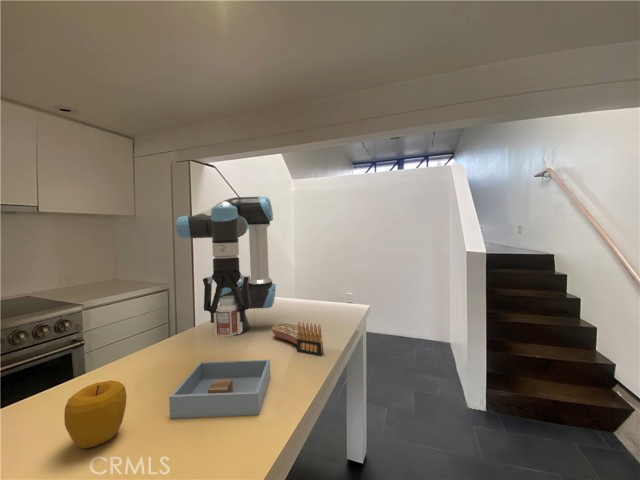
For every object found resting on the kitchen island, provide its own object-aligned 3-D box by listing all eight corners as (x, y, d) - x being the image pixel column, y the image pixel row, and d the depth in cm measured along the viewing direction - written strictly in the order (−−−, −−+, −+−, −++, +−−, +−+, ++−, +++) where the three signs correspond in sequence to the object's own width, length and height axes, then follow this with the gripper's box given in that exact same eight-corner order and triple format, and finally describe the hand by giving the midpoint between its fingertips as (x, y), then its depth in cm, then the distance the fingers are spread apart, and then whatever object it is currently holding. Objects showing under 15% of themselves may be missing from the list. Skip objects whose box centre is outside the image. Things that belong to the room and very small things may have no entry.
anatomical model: (268, 338, 121) (268, 327, 121) (285, 332, 128) (285, 321, 128) (303, 352, 105) (302, 340, 105) (320, 344, 113) (320, 333, 112)
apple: (76, 469, 54) (73, 406, 54) (58, 447, 60) (55, 390, 60) (136, 434, 64) (134, 380, 63) (116, 418, 69) (114, 369, 69)
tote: (200, 379, 88) (200, 362, 87) (270, 376, 88) (269, 359, 88) (170, 418, 69) (169, 396, 69) (258, 414, 69) (258, 393, 69)
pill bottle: (236, 328, 86) (234, 294, 86) (241, 334, 81) (240, 297, 81) (215, 332, 83) (214, 296, 83) (220, 339, 78) (219, 300, 78)
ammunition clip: (323, 354, 103) (322, 323, 103) (321, 356, 102) (320, 324, 101) (299, 349, 108) (298, 320, 108) (296, 351, 106) (295, 321, 106)
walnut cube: (215, 397, 76) (214, 379, 76) (233, 396, 77) (232, 379, 76) (208, 408, 71) (207, 390, 71) (227, 407, 72) (226, 389, 71)
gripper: (188, 259, 78) (191, 338, 78) (255, 257, 78) (257, 336, 78) (199, 256, 85) (202, 329, 86) (260, 255, 85) (262, 327, 86)
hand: (228, 332), depth 82 cm, fingers closed on pill bottle, 6 cm apart
